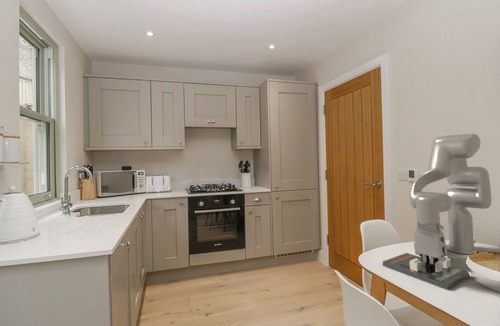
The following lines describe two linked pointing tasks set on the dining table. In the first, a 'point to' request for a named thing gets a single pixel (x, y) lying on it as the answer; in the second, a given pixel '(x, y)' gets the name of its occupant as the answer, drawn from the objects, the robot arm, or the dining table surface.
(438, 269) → the block
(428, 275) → the breaker board
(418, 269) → the block
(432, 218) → the robot arm
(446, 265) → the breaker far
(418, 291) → the dining table surface
